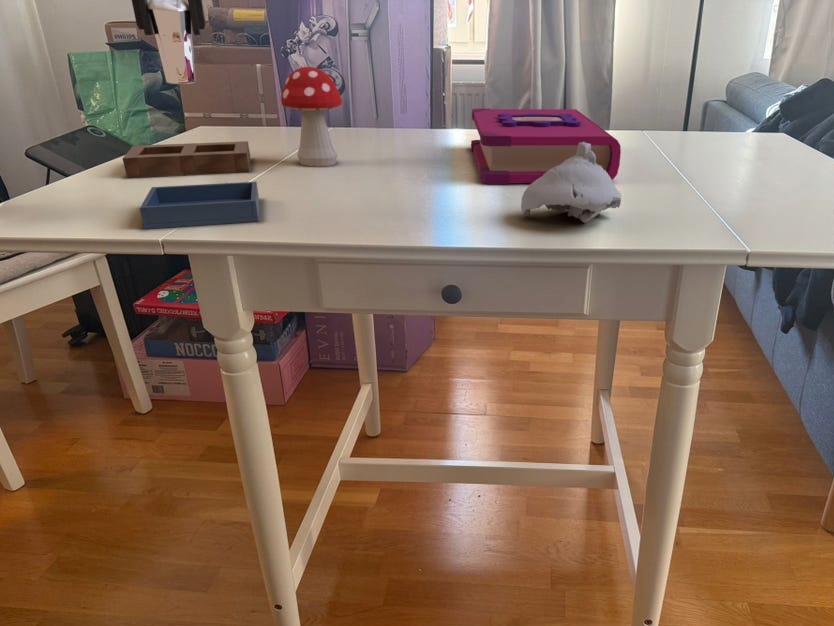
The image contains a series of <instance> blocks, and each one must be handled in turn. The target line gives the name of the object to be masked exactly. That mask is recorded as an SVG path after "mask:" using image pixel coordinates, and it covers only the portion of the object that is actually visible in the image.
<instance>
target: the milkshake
mask: <svg viewBox="0 0 834 626" xmlns="http://www.w3.org/2000/svg"><path fill="white" fill-rule="evenodd" d="M147 8H148V11H149V14H150V18H151V22H152V27H153V33H154V37H155V41H156V44H157V49H158V52H159V56H160V61H161V66H162V69H163V73H164V77H165V82H166V84H171V85H190V84H195V83H196V82H197V78H196V77H197V76H196V67H195V65H196V64H195V55H194V53H195V52H194V43H193V42H194V41H193V28H192V22H191V16H190V10H189V4H188V2H186V1H185V0H149V1H148V4H147Z"/></svg>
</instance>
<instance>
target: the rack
mask: <svg viewBox="0 0 834 626" xmlns="http://www.w3.org/2000/svg"><path fill="white" fill-rule="evenodd" d="M121 159H122V162H123V163H122V164H123V167H124V171H125V175H126V178H127V179H136V178H137V179H138V178H157V177H177V176H196V175H197V176H198V175H216V174H218V175H219V174H234V173H235V174H236V173H237V174H238V173H249V172H250V170H251V152H250V146H249V141H247V140H245V141H243V140H242V141H221V142H218V141H217V142H216V141H215V142H194V143H193V142H192V143H167V144H165V143H164V144H147V145H145V144H144V145H143V144H141V145H132V146H131V148H130V149H129V150H128V151H127V152H126V153H125V155H123V157H122V158H121Z"/></svg>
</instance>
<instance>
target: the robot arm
mask: <svg viewBox="0 0 834 626" xmlns="http://www.w3.org/2000/svg"><path fill="white" fill-rule="evenodd" d="M148 2H149V1H148V0H131V4H132V8H133V13H134V18H135V24H136V26H137V28H138V30H143V32H144V35H145V36H155V33H154V29H153V25H152V22H151V18H150V14H149V11H148V8H147V4H148ZM187 4H188V5H189V10H190V16H191V24H192V34H193V36H201V35H202V30H205V29H206V25H207V23H206V17H205V16H206V15H205V10H204V5H203V0H187Z"/></svg>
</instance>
